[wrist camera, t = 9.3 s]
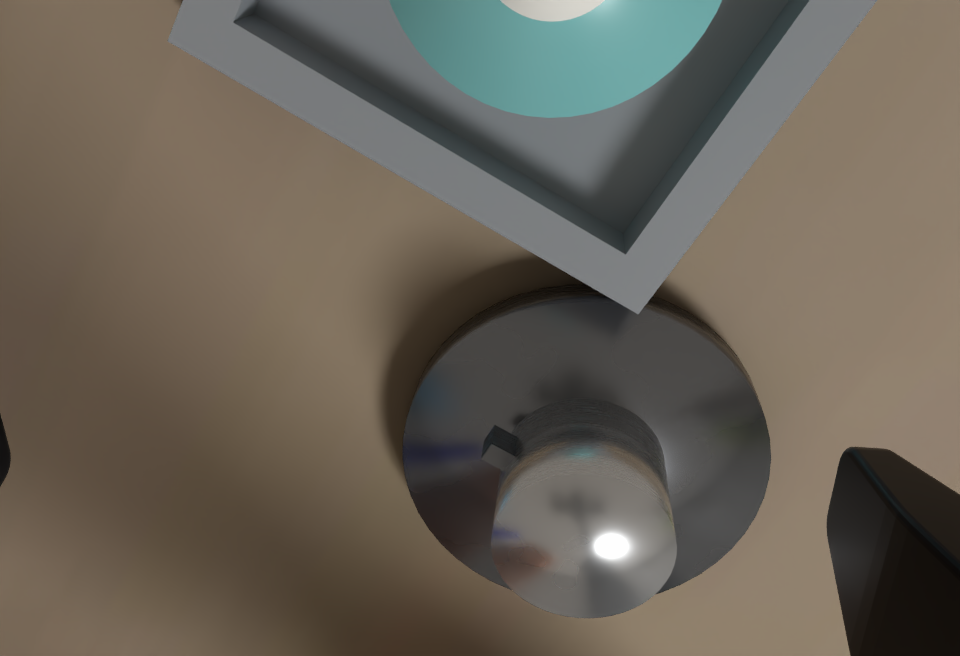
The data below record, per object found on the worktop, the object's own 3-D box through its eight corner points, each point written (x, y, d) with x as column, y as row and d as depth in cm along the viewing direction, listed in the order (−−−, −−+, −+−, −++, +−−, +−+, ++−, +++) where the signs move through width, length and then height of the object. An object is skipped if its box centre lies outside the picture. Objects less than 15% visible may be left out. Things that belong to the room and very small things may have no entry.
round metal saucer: (840, 402, 21) (892, 506, 18) (628, 625, 25) (637, 747, 22) (523, 215, 20) (511, 288, 16) (351, 482, 24) (312, 587, 20)
